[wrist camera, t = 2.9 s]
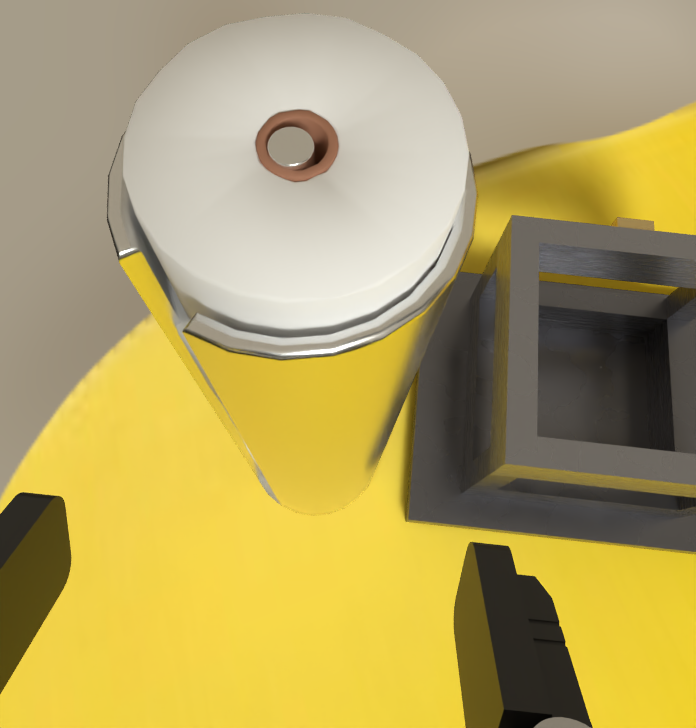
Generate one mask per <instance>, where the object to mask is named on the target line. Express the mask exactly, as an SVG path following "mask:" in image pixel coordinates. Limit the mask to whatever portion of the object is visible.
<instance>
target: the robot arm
mask: <svg viewBox="0 0 696 728" xmlns="http://www.w3.org/2000/svg"><path fill="white" fill-rule="evenodd" d="M70 567H71V549H70V541H69V533H68V525H67V517H66V509H65V503H64V500H63V498H62V497H60V496H52V495H43V494H34V493H24V492H22V493H19V494H18V495H16V496H15V497H14V498H13V500H12V501H11V502H10V503H9V504H8V506H7V507H6V508H5V509H4V510H3V512H2V513H1V514H0V694H1V692H2V690H3V689H4V687H5V685H6V684H7V682H8V680H9V679H10V677H11V675H12V674H13V672H14V670H15V669H16V667H17V665H18V664H19V662H20V660H21V659H22V657H23V655H24V654H25V652H26V650H27V649H28V647H29V645H30V644H31V642H32V640H33V639H34V637H35V635H36V634H37V632H38V630H39V629H40V627H41V625H42V624H43V622H44V620H45V619H46V617H47V615H48V614H49V612H50V610H51V609H52V607H53V605H54V604H55V602H56V600H57V599H58V597H59V595H60V594H61V592H62V590H63V588H64V586H65V584H66V582H67V579H68V576H69V572H70ZM454 635H455V643H456V651H457V659H458V668H459V676H460V684H461V692H462V700H463V708H464V717H465V725H466V728H593V727H592V725H591V722H590V719H589V716H588V713H587V710H586V707H585V703H584V700H583V697H582V694H581V690H580V687H579V684H578V681H577V677H576V674H575V671H574V668H573V665H572V661H571V658H570V655H569V652H568V648H567V647H566V646H565V639H564V635H563V632H562V629H561V627H559V619H558V616H557V613H556V610H555V606H554V603H553V600H552V598H551V596H550V595H549V594H548V593H547V591H546V590H545V589H544V587H543V586H542V585H541V584H540V582H539V581H538V580H537V579H536V577H535V576H526V575H517V573H516V569H515V565H514V561H513V558H512V554H511V550H510V548H509V547H508V546H503V545H493V544H484V543H475V542H470V543H469V545H468V547H467V551H466V556H465V560H464V564H463V569H462V573H461V577H460V582H459V586H458V591H457V595H456V600H455V607H454Z"/></svg>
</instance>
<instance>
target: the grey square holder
mask: <svg viewBox="0 0 696 728" xmlns="http://www.w3.org/2000/svg"><path fill="white" fill-rule="evenodd" d="M539 271H540V272H549V273H558V274H567V275H576V276H585V277H594V278H603V279H612V280H621V281H630V282H639V283H648V284H657V285H666V286H675V287H678V288H677V289H676V290H675V291H674V292H673V293H671V294H670V295H664V294H655V293H646V292H637V291H628V290H619V289H610V288H601V287H592V286H583V285H574V284H565V283H555V282H546V281H539ZM406 522H414V523H423V524H432V525H441V526H449V527H458V528H467V529H476V530H485V531H494V532H503V533H511V534H520V535H529V536H538V537H547V538H556V539H565V540H573V541H582V542H591V543H600V544H609V545H618V546H627V547H635V548H644V549H653V550H662V551H671V552H680V553H689V554H696V235H687V234H678V233H669V232H660V231H654V221H647V220H638V219H629V218H620V217H617V218H616V220H615V221H614V222H613V223H612V225H611V226H606V225H597V224H588V223H579V222H570V221H561V220H551V219H542V218H533V217H524V216H515V215H512V216H511V218H510V220H509V222H508V224H507V226H506V228H505V230H504V232H503V234H502V236H501V238H500V240H499V242H498V244H497V246H496V248H495V250H494V252H493V254H492V256H491V258H490V260H489V262H488V264H487V266H486V268H485V270H484V272H483V274H474V273H465V272H459V274H458V276H457V278H456V281H455V283H454V286H453V288H452V290H451V293H450V295H449V297H448V300H447V302H446V304H445V307H444V309H443V312H442V314H441V316H440V319H439V321H438V323H437V326H436V328H435V330H434V333H433V335H432V338H431V340H430V342H429V345H428V347H427V349H426V352H425V354H424V356H423V359H422V361H421V364H420V366H419V368H418V371H417V381H416V394H415V408H414V421H413V434H412V447H411V461H410V474H409V487H408V500H407V513H406Z"/></svg>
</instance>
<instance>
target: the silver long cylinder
mask: <svg viewBox="0 0 696 728" xmlns="http://www.w3.org/2000/svg"><path fill="white" fill-rule="evenodd" d="M477 204H478V191H477V186H476V181H475V175H474V170H473V164H472V159H471V154H470V152H469V150H468V145H467V140H466V134H465V130H464V125H463V119H462V116H461V114H460V112H459V110H458V108H457V106H456V105H455V103H454V101H453V99H452V97H451V95H450V93H449V91H448V89H447V87H446V85H445V83H444V82H443V81H442V80H441V79H440V78H439V77H438V76H437V75H436V74H435V73H434V72H433V70H432V69H431V68H430V67H429V66H428V65H427V64H426V63H425V62H424V61H423V60H422V59H421V58H420V56H419V55H417V54H415V53H414V52H412V51H411V50H409V49H407V48H406V47H404V46H402V45H401V44H399V43H397V42H396V41H394V40H393V39H391V38H389V37H388V36H386V35H384V34H382V33H380V32H377V31H375V30H373V29H371V28H368V27H366V26H364V25H361V24H360V23H357V22H355V21H353V20H351V19H348V18H342V17H335V16H326V15H318V14H309V13H302V14H291V15H280V16H268V17H261V18H257V19H252V20H247V21H242V22H237V23H232V24H227V25H224V26H222V27H220V28H218V29H216V30H214V31H212V32H210V33H208V34H206V35H204V36H202V37H200V38H198V39H196V40H194V41H192V42H190V43H188V44H187V45H186V46H185V47H184V48H183V49H182V50H181V51H180V52H179V53H178V54H177V55H176V56H175V57H174V58H173V59H171V60H170V61H169V62H168V63H167V64H166V65H165V66H164V67H163V68H162V69H161V70H160V71H159V72H158V73H157V75H156V76H155V77H154V78H153V80H152V81H151V82H150V84H149V85H148V86H147V88H146V89H145V90H144V91H143V93H142V94H141V95H140V97H139V98H138V99H137V100H136V102H135V105H134V109H133V112H132V114H131V117H130V121H129V124H128V126H127V130H126V131H125V133H124V134H123V135H122V138H121V141H120V143H119V147H118V149H117V152H116V155H115V158H114V161H113V164H112V166H111V169H110V172H109V175H108V200H107V222H108V225H109V228H110V232H111V236H112V239H113V243H114V246H115V249H116V253H117V256H118V260H119V263H120V265H121V266H122V268H123V269H124V271H125V272H126V274H127V276H128V277H129V279H130V280H131V282H132V283H133V285H134V286H135V288H136V290H137V291H138V293H139V294H140V296H141V297H142V299H143V300H144V302H145V303H146V305H147V306H148V308H149V310H150V311H151V313H152V314H153V316H154V318H155V319H156V321H157V322H158V324H159V325H160V327H161V328H162V330H163V332H164V333H165V335H166V336H167V338H168V339H169V341H170V342H171V344H172V346H173V347H174V349H175V350H176V352H177V353H178V355H179V357H180V358H181V360H182V361H183V363H184V364H185V366H186V367H187V369H188V371H189V372H190V374H191V375H192V377H193V378H194V380H195V381H196V383H197V385H198V386H199V388H200V389H201V391H202V392H203V394H204V395H205V397H206V399H207V400H208V402H209V403H210V405H211V406H212V408H213V409H214V411H215V413H216V414H217V416H218V417H219V419H220V420H221V422H222V424H223V425H224V427H225V428H226V430H227V431H228V433H229V434H230V436H231V438H232V439H233V441H234V442H235V444H236V445H237V447H238V448H239V450H240V452H241V453H242V455H243V456H244V458H245V459H246V461H247V462H248V464H249V466H250V467H251V469H252V470H253V472H254V473H255V475H256V476H257V478H258V480H259V481H260V483H261V484H262V486H263V487H264V489H265V490H266V492H267V493H268V495H269V496H271V497H272V498H273V499H274V500H275V501H276V502H277V503H279V504H280V505H281V506H283V507H285V508H287V509H289V510H291V511H294V512H296V513H301V514H307V515H323V514H330V513H333V512H336V511H338V510H341V509H344V508H345V507H347V506H348V505H350V504H351V503H352V502H354V501H355V500H357V499H358V498H359V497H360V495H361V494H362V493H363V492H364V491H365V489H366V488H367V487H368V486H369V483H370V481H371V479H372V477H373V474H374V472H375V470H376V467H377V465H378V463H379V460H380V458H381V456H382V453H383V451H384V449H385V446H386V444H387V442H388V439H389V437H390V434H391V432H392V430H393V427H394V425H395V423H396V420H397V418H398V416H399V413H400V411H401V408H402V406H403V404H404V401H405V399H406V397H407V394H408V392H409V390H410V387H411V385H412V382H413V380H414V378H415V375H416V373H417V371H418V368H419V366H420V364H421V361H422V359H423V356H424V354H425V352H426V349H427V347H428V345H429V342H430V340H431V338H432V335H433V333H434V330H435V328H436V326H437V323H438V321H439V319H440V316H441V314H442V312H443V309H444V307H445V304H446V302H447V300H448V297H449V295H450V293H451V290H452V288H453V286H454V283H455V281H456V278H457V276H458V274H459V271H460V269H461V267H462V264H463V262H464V260H465V257H466V255H467V252H468V250H469V248H470V245H471V243H472V241H473V237H474V228H475V220H476V212H477Z"/></svg>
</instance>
